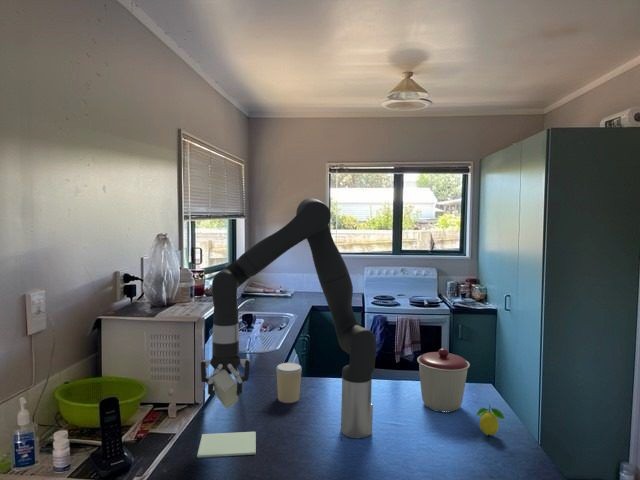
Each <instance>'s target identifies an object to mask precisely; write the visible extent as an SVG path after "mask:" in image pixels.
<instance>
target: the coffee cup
mask: <svg viewBox="0 0 640 480" xmlns="http://www.w3.org/2000/svg"><path fill="white" fill-rule="evenodd" d="M275 369H276V385H277V386H276V387H277V400H278V401H279V402H281V403H285V404H291V403H297V402H298V401H299V400H300V392H301V382H302V381H301V380H302V370H303V369H302V366H301V365H300V364H298V363H295V362H283V363H280V364H278V365H277V367H276V368H275Z"/></svg>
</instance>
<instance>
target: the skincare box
mask: <svg viewBox="0 0 640 480" xmlns="http://www.w3.org/2000/svg"><path fill="white" fill-rule="evenodd" d="M212 381H213V385H214V394H215V396H216V398H217V399H218V400H219V401H220V402H221V404H222V406H223V407H224V408H225V409H226V410H228V409H230V408H231V407H232V406H233V405H235V404H236V403H238V401H239V396H237V382H236V381H235V380H234V378H233V377H232V376H231V374H228V372H227V371H226V370H221V371H220V372H219V373H217V374H215V375H214V376H213V377H212Z"/></svg>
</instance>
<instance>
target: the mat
mask: <svg viewBox="0 0 640 480" xmlns="http://www.w3.org/2000/svg"><path fill="white" fill-rule="evenodd" d="M256 435H257V433H256V431H242V432H241V431H240V432H237V431H236V432H221V433H220V432H219V433H217V432H216V433H202V434H201V438H200V442H199V446H198V450H197V455H196V458H198V459H201V458H213V457H214V458H215V457H217V458H218V457H231V456H247V455H248V456H250V455H257V454H256V453H257V452H256V451H257V449H256V447H257V445H256V444H257V443H256V442H257V440H256V439H257V437H256Z"/></svg>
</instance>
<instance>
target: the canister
mask: <svg viewBox="0 0 640 480" xmlns="http://www.w3.org/2000/svg"><path fill="white" fill-rule="evenodd" d="M416 360H417V363H418V369H419V381H420V392H421V400H422V402H423V403H424V405H425V406H426V407H427V408H428V407H429V408H428V409H430V408H431V409H430V410H432V409H433V410H432V411H435V410H437V411H436V412H439V411H445V412H444V413H449V412H448V411H454V412H456V411H458V410H459V409H460V408H461V406H462V404H463V399H464V395H465V387H466V381H467V375H468V369H469V368H470V366H471V364H470V362H469V361H467V360H466V358H464V357H462V356H461V355H457V354H453V353H449V350H448V349H447V348H444V347H442V348H440V349H438V351H430V352H426V353H423V354H421V355H419V356H418V357H417V359H416ZM457 409H458V410H457ZM455 410H456V411H455ZM446 411H447V412H446Z"/></svg>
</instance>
